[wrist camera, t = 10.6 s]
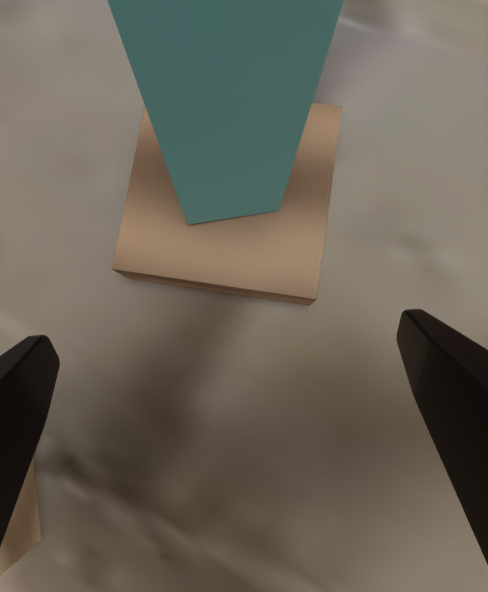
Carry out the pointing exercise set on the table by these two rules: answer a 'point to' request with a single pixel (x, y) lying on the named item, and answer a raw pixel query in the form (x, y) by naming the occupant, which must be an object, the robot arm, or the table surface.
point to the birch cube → (22, 524)
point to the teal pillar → (227, 93)
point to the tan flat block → (232, 225)
